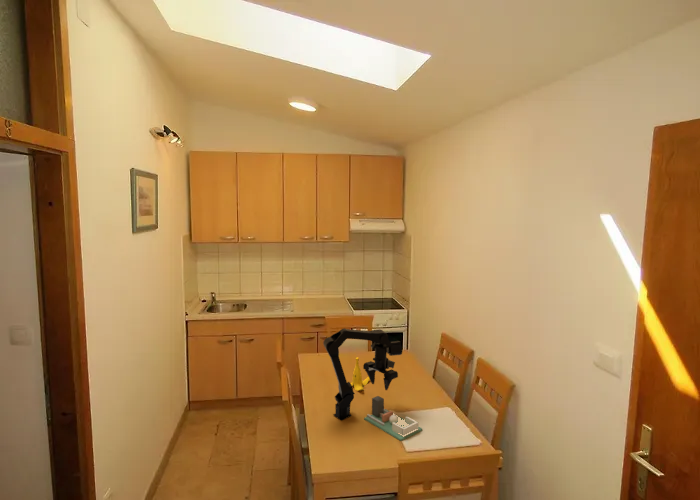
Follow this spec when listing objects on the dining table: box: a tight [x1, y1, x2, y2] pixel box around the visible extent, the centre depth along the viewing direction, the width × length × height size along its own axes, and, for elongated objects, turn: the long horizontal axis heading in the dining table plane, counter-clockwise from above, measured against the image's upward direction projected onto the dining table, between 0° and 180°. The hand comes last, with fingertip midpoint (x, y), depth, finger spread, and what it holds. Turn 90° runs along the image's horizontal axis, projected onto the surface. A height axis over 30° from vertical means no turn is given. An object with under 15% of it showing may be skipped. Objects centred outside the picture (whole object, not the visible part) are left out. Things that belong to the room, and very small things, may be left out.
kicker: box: [371, 395, 394, 422], centre depth 198 cm, size 6×9×8 cm, turn 39°
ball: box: [389, 414, 398, 423], centre depth 192 cm, size 4×4×4 cm
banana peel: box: [350, 357, 370, 392], centre depth 236 cm, size 16×19×17 cm
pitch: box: [363, 408, 423, 442], centre depth 193 cm, size 14×24×4 cm, turn 39°
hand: (379, 387), depth 205 cm, fingers open, 9 cm apart
